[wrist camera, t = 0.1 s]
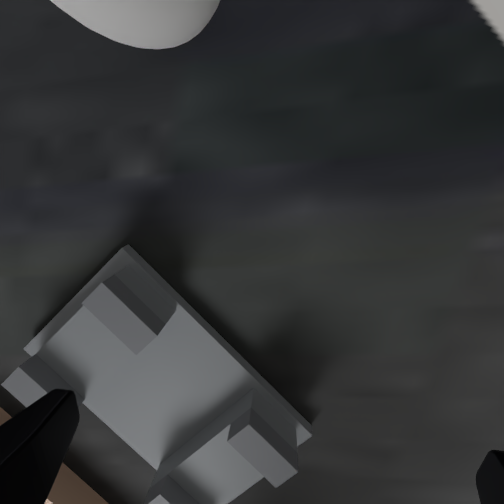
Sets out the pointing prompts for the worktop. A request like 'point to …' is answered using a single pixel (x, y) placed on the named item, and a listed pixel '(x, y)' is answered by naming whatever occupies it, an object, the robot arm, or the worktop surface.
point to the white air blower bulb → (143, 19)
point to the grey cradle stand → (164, 386)
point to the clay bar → (66, 484)
